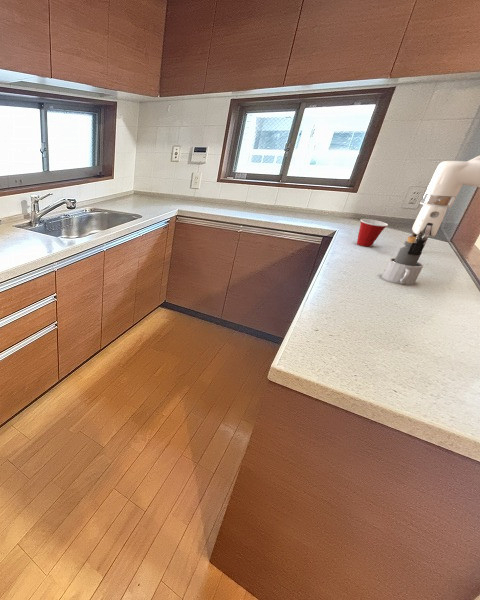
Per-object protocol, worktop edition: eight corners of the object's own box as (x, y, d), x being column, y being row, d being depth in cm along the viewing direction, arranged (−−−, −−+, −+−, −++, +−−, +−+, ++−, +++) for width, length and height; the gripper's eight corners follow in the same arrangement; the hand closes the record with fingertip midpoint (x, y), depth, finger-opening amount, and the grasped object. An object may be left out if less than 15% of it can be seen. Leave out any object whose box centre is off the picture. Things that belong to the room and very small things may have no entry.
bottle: (408, 281, 117) (428, 241, 111) (387, 277, 121) (406, 237, 114) (408, 277, 121) (428, 238, 115) (387, 273, 125) (406, 234, 118)
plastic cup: (370, 249, 156) (381, 224, 151) (346, 243, 165) (355, 219, 159) (382, 247, 160) (394, 222, 155) (358, 241, 169) (368, 218, 163)
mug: (380, 273, 127) (388, 256, 124) (411, 279, 122) (420, 261, 119) (384, 283, 118) (392, 265, 115) (418, 290, 113) (428, 271, 110)
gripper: (460, 205, 100) (431, 260, 108) (446, 198, 113) (420, 248, 121) (427, 202, 104) (401, 256, 112) (417, 196, 117) (394, 245, 125)
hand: (411, 251), depth 116 cm, fingers closed on bottle, 5 cm apart
